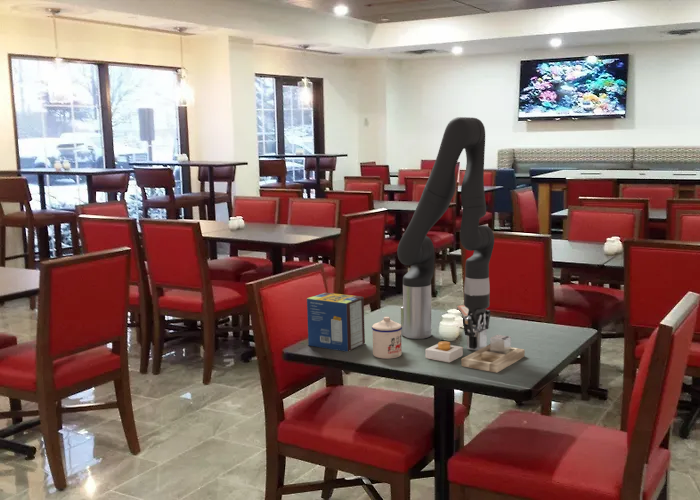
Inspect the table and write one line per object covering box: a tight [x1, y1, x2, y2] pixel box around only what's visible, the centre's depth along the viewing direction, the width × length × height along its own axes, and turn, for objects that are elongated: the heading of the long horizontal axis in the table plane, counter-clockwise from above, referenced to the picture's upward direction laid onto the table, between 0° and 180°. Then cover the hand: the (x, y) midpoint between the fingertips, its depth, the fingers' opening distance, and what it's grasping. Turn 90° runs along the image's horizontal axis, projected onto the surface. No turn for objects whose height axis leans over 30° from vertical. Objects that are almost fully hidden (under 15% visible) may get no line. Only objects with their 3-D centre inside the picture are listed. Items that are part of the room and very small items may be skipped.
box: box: [424, 343, 464, 363], centre depth 212 cm, size 8×8×3 cm
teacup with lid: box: [371, 316, 403, 360], centre depth 218 cm, size 12×9×12 cm
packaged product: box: [456, 304, 475, 326], centre depth 255 cm, size 18×5×10 cm
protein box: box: [306, 292, 366, 353], centre depth 229 cm, size 10×15×16 cm
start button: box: [437, 340, 451, 351], centre depth 212 cm, size 4×4×2 cm
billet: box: [490, 334, 512, 355], centre depth 210 cm, size 4×4×6 cm
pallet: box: [460, 344, 526, 373], centre depth 207 cm, size 11×18×2 cm, turn 143°
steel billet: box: [466, 328, 488, 352], centre depth 220 cm, size 4×4×6 cm
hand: (476, 346), depth 220 cm, fingers closed on steel billet, 4 cm apart
